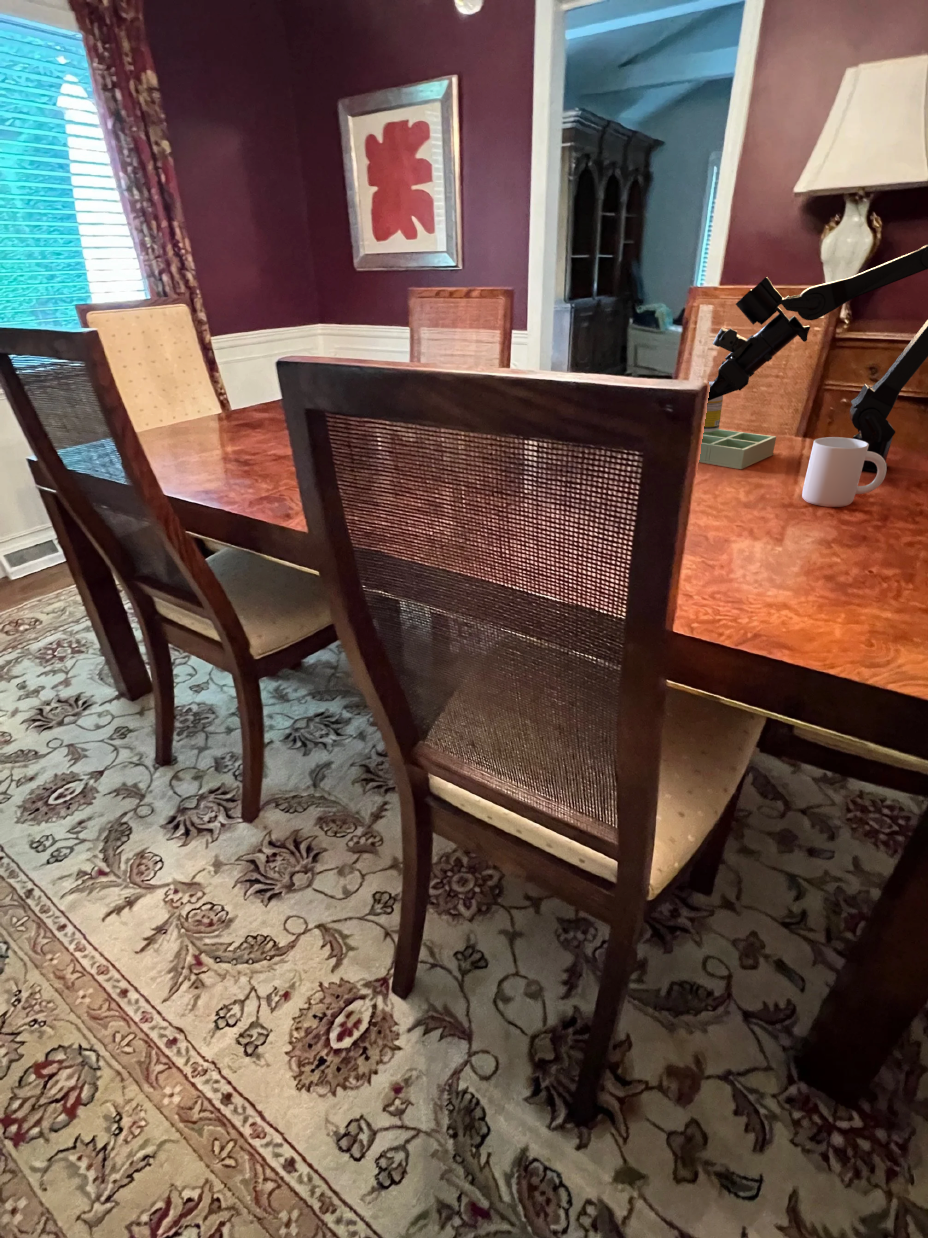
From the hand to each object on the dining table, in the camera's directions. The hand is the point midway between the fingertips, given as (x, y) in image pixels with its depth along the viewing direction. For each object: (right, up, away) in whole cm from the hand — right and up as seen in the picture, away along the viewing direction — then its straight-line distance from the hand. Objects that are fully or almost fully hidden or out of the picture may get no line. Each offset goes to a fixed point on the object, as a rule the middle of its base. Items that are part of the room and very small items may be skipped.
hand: (703, 398), depth 135 cm
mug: (+15, -27, -24) cm, 39 cm away
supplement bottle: (+2, -6, +3) cm, 7 cm away
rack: (+7, -11, +5) cm, 14 cm away
